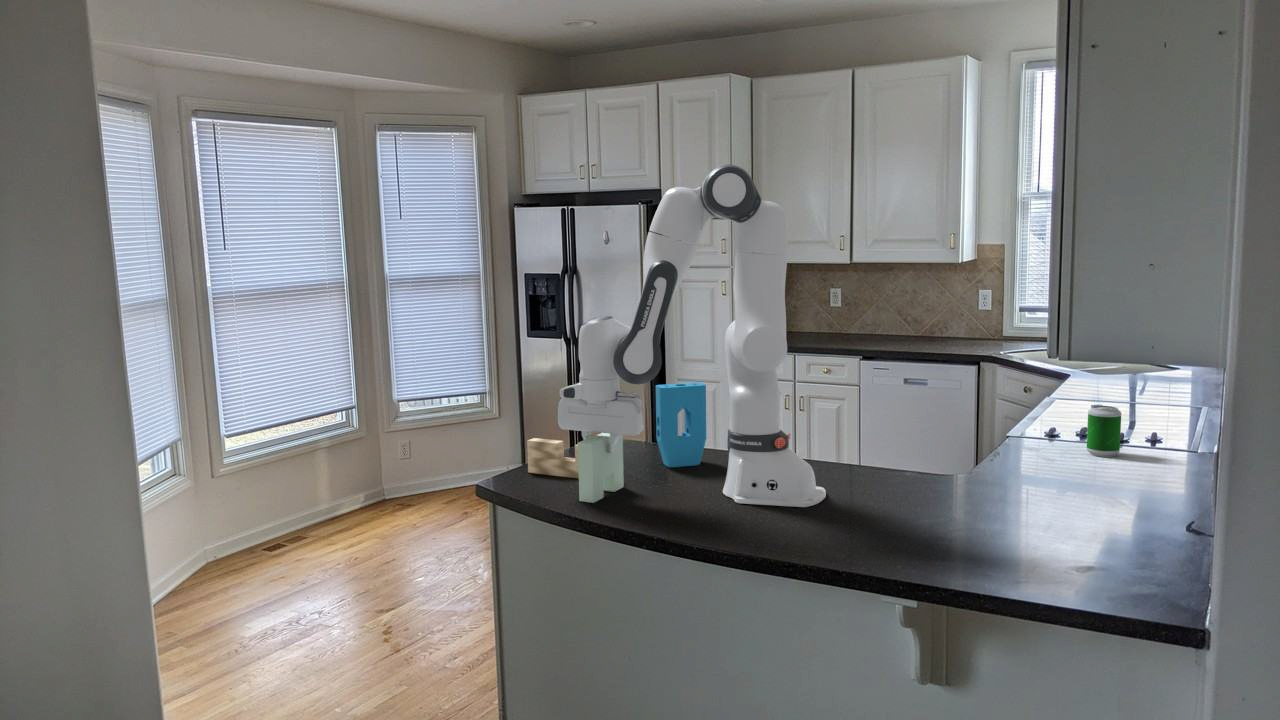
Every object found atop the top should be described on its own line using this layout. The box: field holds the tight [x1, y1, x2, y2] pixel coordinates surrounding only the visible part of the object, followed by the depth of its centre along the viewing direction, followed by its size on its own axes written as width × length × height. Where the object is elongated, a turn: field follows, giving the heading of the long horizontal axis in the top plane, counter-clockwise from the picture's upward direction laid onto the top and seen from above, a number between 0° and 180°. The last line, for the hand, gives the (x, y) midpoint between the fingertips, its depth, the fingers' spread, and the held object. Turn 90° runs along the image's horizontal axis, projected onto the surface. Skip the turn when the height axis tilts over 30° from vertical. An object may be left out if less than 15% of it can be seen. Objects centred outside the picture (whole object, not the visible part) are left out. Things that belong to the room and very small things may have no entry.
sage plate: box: [577, 433, 625, 504], centre depth 212 cm, size 4×14×13 cm, turn 153°
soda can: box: [1086, 405, 1122, 458], centre depth 240 cm, size 8×8×12 cm
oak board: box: [526, 437, 579, 479], centre depth 229 cm, size 22×3×8 cm, turn 63°
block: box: [655, 382, 707, 468], centre depth 237 cm, size 12×5×20 cm, turn 106°
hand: (601, 451), depth 211 cm, fingers closed on sage plate, 3 cm apart
